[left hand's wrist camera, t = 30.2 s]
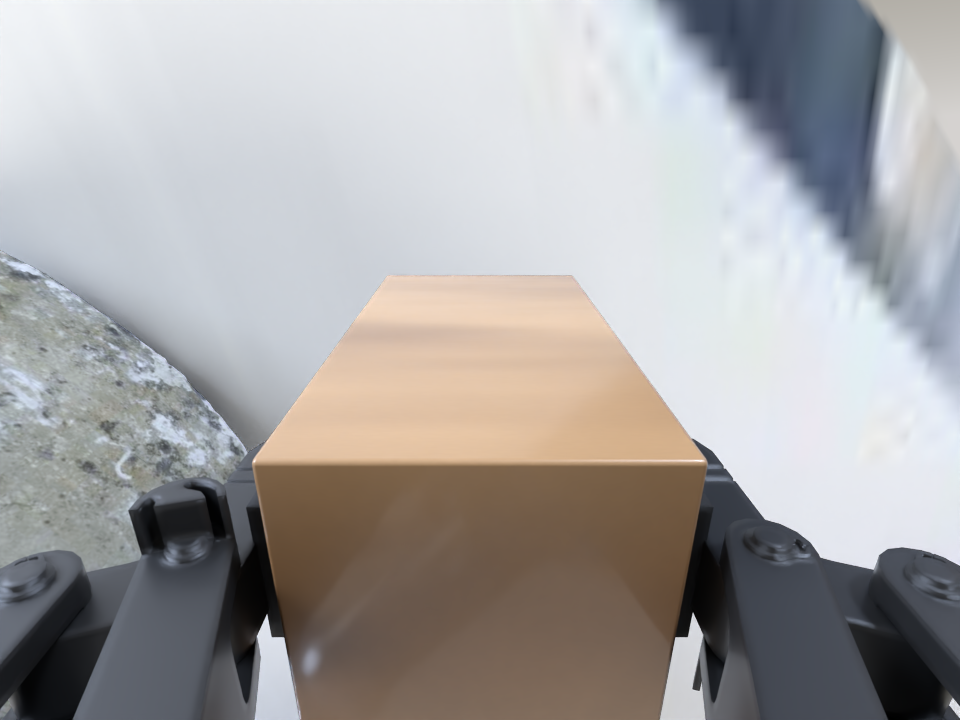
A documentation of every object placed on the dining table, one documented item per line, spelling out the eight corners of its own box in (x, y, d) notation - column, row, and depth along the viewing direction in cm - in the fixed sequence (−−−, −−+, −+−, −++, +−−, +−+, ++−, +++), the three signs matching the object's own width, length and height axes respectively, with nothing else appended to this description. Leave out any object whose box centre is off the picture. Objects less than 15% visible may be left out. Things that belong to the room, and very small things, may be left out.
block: (562, 443, 18) (652, 768, 9) (397, 443, 18) (307, 768, 9) (573, 274, 16) (711, 461, 6) (386, 274, 16) (247, 461, 6)
